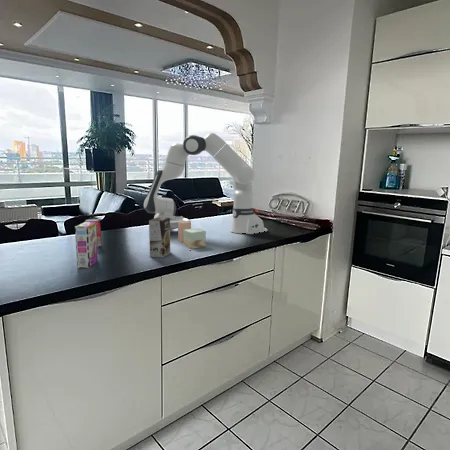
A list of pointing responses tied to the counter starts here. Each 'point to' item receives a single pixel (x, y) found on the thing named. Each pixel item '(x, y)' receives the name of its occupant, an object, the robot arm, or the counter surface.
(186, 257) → the counter surface
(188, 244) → the oak slab
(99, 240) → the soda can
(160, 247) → the coffee box
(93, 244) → the candy bar box
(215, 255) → the counter surface
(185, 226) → the coral block
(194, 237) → the sage slab
